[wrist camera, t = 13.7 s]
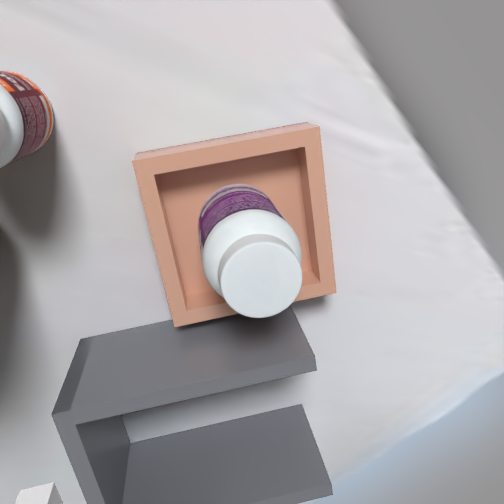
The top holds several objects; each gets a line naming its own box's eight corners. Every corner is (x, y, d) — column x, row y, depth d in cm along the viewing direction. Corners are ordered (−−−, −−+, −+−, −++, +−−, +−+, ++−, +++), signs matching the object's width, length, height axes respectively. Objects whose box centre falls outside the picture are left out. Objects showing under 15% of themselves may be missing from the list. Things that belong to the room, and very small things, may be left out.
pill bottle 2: (179, 223, 30) (179, 284, 21) (237, 165, 29) (262, 203, 20) (237, 274, 32) (260, 351, 23) (293, 221, 31) (339, 278, 22)
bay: (121, 455, 37) (105, 550, 29) (80, 339, 33) (51, 414, 25) (303, 413, 38) (332, 494, 31) (285, 295, 34) (314, 355, 27)
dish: (175, 306, 33) (174, 327, 30) (136, 152, 29) (132, 160, 26) (323, 275, 34) (336, 292, 31) (306, 122, 30) (319, 126, 27)
